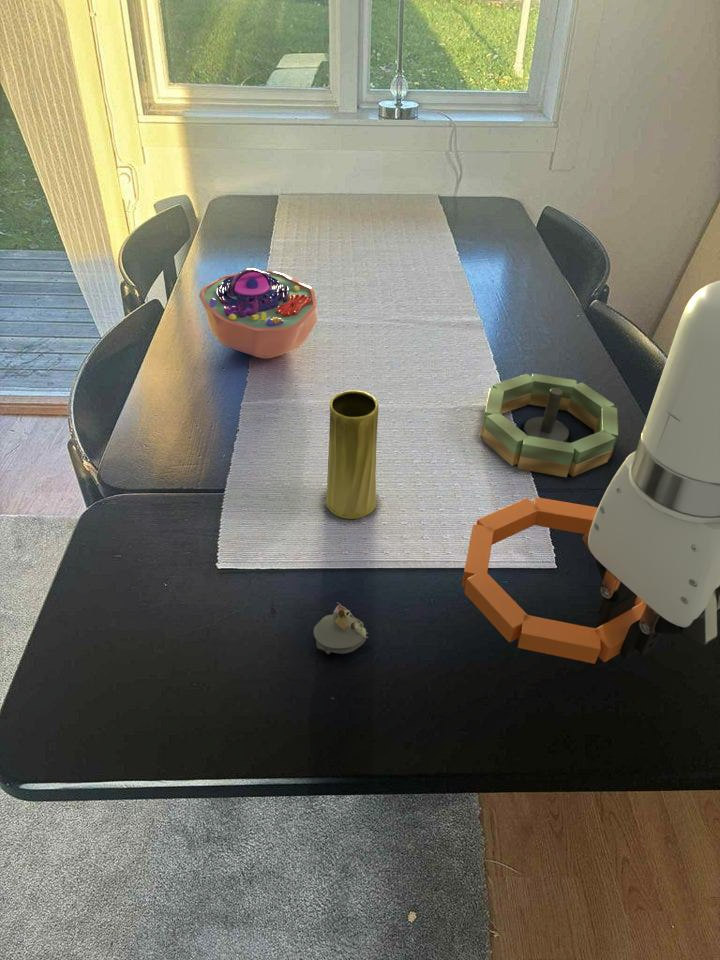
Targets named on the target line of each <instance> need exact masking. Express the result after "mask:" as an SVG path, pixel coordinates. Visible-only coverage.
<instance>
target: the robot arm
mask: <svg viewBox="0 0 720 960" xmlns="http://www.w3.org/2000/svg"><path fill="white" fill-rule="evenodd" d="M653 396H654V397H653V400H652V403H651V406H650V408H649V410H648V414H647V417H646V420H645V422H644V426H643V429H642V432H641V434H640V438H639V440H638V443H637V445H636V449H635V451H633V452H632V453H630V454H629V455H627V457H626V458H625V460H624V461H623V462H622V464H621V465H620V466H619V468H618V470H617V471H616V473H615V474H614V475H613V476H612V479H611V481H610V483H609V485H608V486H607V488H606V490H605V491H604V494H603V496H602V498H601V500H600V502H599V505H598V507H597V508H598V509H597V511H596V514H595V517H594V519H593V522H592V525H591V528H590V531H589V532H588V533H587V534H583V536H582V538H581V539H582V543H583V545H584V546H585V547H586V549H587V550H588V552H589V554H590V555H591V557H592V558H593V559H595V565H596V568H597V570H598V574H599V576H600V578H601V583H600V587H599V591H600V594H601V595H602V597H603V599H602V602H601V605H600V607H599V610H598V615H599V617H598V620H597V623H596V625H595V627H594V629H596V628H598V627H600V626H602V625H603V624H605V623H607V622H609V621H611V620H613V619H614V618H616V617H618V616H620V615H621V614H623V613H625V612H627V611H628V610H630V609H632V608H633V607H634V606H635V601H636V598H637V596H638V597H639V598H641V599H642V600H643V601H644V602H645V603H646V604H647V605H646V607H645V610H644V612H643V615H642V617H641V619H639V620H638V621H636V622H634V623H633V624H632V625H631V626H630V628H629V630H628V632H627V635H626V637H625V641H624V643H623V645H622V648H621V650H620V653H619V655H620V656H621V657H622V659H624V660H628V659H629V658H631V657H633V656H635V655H636V654H638V653H639V654H640V655H641V656H644V655H646V654H648V653H649V652H651V651H652V650H653V649H654V648H655V647H656V645H657V643H658V641H659V639H660V637H661V635H662V634H669V635H677V634H680V635H682V637H683V638H685V639H687V640H689V641H691V642H694V643H695V644H698V645H699V646H706V645H707V644H709V643H710V642H712V641H714V640H715V639H717V637H718V610H719V609H720V280H717V281H714V282H711V283H708V284H706V285H705V286H703V287H701V288H700V289H699V290H697V291H696V292H695V293H694V294H693V296H691V298H690V299H689V300H688V302H687V303H686V305H685V307H684V310H683V312H682V315H681V317H680V320H679V323H678V325H677V329H676V331H675V335H674V337H673V340H672V344H671V346H670V349H669V352H668V355H667V358H666V361H665V364H664V367H663V370H662V372H661V376H660V379H659V382H658V384H657V388H656V391H655V393H654V395H653Z"/></svg>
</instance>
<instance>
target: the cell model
mask: <svg viewBox="0 0 720 960" xmlns="http://www.w3.org/2000/svg"><path fill="white" fill-rule="evenodd" d="M315 292H316V291H315V290H314V289H313V287H312V286H310V285H307V284H305V283H303V282H300V281H298V280H296V279H294V278H292V277H291V276H289V275H287V274H285V273H281V272H277V271H272V270H263V269H257V268H252V267H251V268H250V267H249V268H244V269H242V270H240V271H239V272H235V273H232V274H226V275H224V276H221V277H219V278H217V279H215V280H214V281H212V282H211V283H209V284H207V285H205V286H203V287H202V289H201V290H200V292H199V296H198V297H199V300H200V301H201V304H202V306H203V308H204V311H205V316H206V322H207V324H208V327H209V329H210V331H211V333H212V335H213V336H214V338H215V339H216V340H217V341H218V342H219V343H220V344H221V345H222V346H224V347H226V348H229V349H232V350H235V351H238V352H240V353H243V354H247V355H250V356H253V357H255V358H258V359H264V360H265V359H266V360H267V359H273V358H277V357H280V356H283V355H285V354H288V353H291V352H293V351H296V350H297V349H299V348H300V347H301V346H302V345H303V344H304V343H305V342H306V340H307V339H308V337H309V336H310V334H311V332H312V331H313V330H314V328H316V325H317V323H318V318H319V317H318V309H317V300H316V299H317V298H316V293H315Z"/></svg>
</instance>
